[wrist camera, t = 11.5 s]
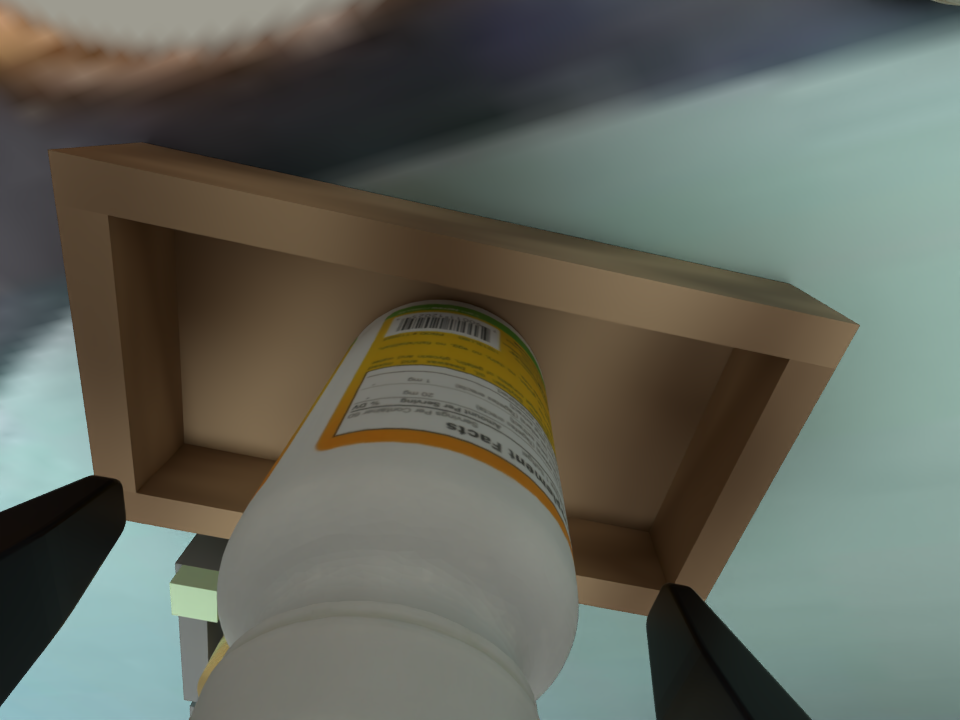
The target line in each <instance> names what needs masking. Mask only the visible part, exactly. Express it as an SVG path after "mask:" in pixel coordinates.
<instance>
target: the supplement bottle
mask: <svg viewBox="0 0 960 720" xmlns="http://www.w3.org/2000/svg"><path fill="white" fill-rule="evenodd" d="M217 604H218V615H219V620H220V624H221V628H222V631H223V634H224V636H225V639H226V641H227V644H228V646H229V649H228V650H227V652H226V653H225V655H224V657H223V658H222V660H221V661H220V662H219V663H218V664H217V666H216V667H215V668H214V670H213V671H212V672H211V674H210V675H209V677H208V679H207V681H206V683H205V685H204V686H203V688H202V691H201V693H200V696H199V698H198V700H197V703H196V705H195V707H194V710H193V712H192V714H191V716H190V718H189V720H540V719H539V716H538V713H537V705H536V700H537V699H538V698H539V697H540V696H541V695H542V694H543V693H544V692H545V691H546V690H547V689H548V688H549V687H550V685H551V684H552V683H553V682H554V680H555V679H556V677H557V676H558V674H559V673H560V671H561V669H562V668H563V666H564V664H565V661H566V659H567V657H568V655H569V652H570V650H571V648H572V645H573V641H574V638H575V634H576V630H577V623H578V607H579V602H578V590H577V581H576V573H575V566H574V559H573V552H572V545H571V540H570V535H569V529H568V522H567V516H566V511H565V505H564V499H563V493H562V487H561V482H560V476H559V470H558V464H557V458H556V452H555V445H554V439H553V433H552V426H551V420H550V414H549V408H548V402H547V395H546V389H545V385H544V381H543V376H542V373H541V370H540V367H539V364H538V362H537V360H536V358H535V356H534V354H533V352H532V350H531V348H530V347H529V345H528V344H527V343H526V341H525V340H524V339H523V337H522V336H521V335H520V334H519V333H518V332H517V331H516V330H515V329H514V328H513V327H512V326H510V325H509V324H508V323H506V322H505V321H504V320H502V319H501V318H499V317H498V316H496V315H494V314H492V313H490V312H488V311H486V310H484V309H482V308H479V307H476V306H474V305H471V304H467V303H463V302H458V301H452V300H423V301H418V302H413V303H409V304H406V305H403V306H400V307H397V308H395V309H393V310H391V311H389V312H387V313H385V314H383V315H382V316H380V317H378V318H377V319H376V320H374V321H373V322H372V323H371V324H369V325H368V326H367V327H366V328H365V329H364V330H363V331H362V332H361V334H360V335H359V336H358V337H357V339H356V340H355V341H354V342H353V344H352V345H351V346H350V348H349V349H348V351H347V352H346V354H345V355H344V357H343V359H342V360H341V362H340V363H339V365H338V366H337V368H336V370H335V371H334V373H333V374H332V376H331V377H330V379H329V380H328V382H327V384H326V385H325V387H324V388H323V390H322V392H321V393H320V395H319V396H318V398H317V399H316V401H315V402H314V404H313V405H312V407H311V408H310V410H309V412H308V413H307V415H306V416H305V418H304V419H303V421H302V422H301V424H300V425H299V427H298V429H297V430H296V432H295V433H294V435H293V436H292V438H291V439H290V441H289V442H288V444H287V445H286V447H285V448H284V450H283V451H282V453H281V455H280V456H279V458H278V459H277V461H276V462H275V464H274V465H273V467H272V468H271V470H270V471H269V473H268V474H267V476H266V477H265V479H264V480H263V482H262V483H261V485H260V487H259V488H258V490H257V491H256V493H255V494H254V496H253V498H252V499H251V501H250V503H249V504H248V506H247V508H246V509H245V511H244V513H243V515H242V516H241V518H240V520H239V522H238V523H237V525H236V527H235V529H234V531H233V533H232V535H231V537H230V539H229V541H228V543H227V546H226V548H225V551H224V554H223V557H222V561H221V565H220V570H219V575H218V583H217Z"/></svg>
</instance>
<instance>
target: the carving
mask: <svg viewBox="0 0 960 720" xmlns="http://www.w3.org/2000/svg"><path fill="white" fill-rule="evenodd" d="M932 1H935V2H938V3H942V4H949V5H959V6H960V0H932Z"/></svg>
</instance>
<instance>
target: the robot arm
mask: <svg viewBox="0 0 960 720" xmlns="http://www.w3.org/2000/svg"><path fill="white" fill-rule="evenodd" d="M125 524H126V510H125V501H124V493H123V486H122V483H121V482H120V481H119V480H117V479H114V478H109V477H104V476H98V475H91V476H88V477H85V478H82V479H80V480H77V481H75V482H73V483H70V484H68V485H65V486H63V487H60V488H58V489H55V490H53V491H51V492H48V493H46V494H43V495H41V496H38V497H36V498H33V499H31V500H28V501H26V502H24V503H21V504H19V505H16V506H14V507H11V508H9V509H6V510H4V511H2V512H0V706H1V705H2V704H3V703H4V701H5V700H6V699H7V697H8V696H9V695H10V693H11V692H12V691H13V690H14V688H15V687H16V686H17V684H18V683H19V682H20V681H21V679H22V678H23V677H24V675H25V674H26V673H27V671H28V670H29V669H30V668H31V666H32V665H33V664H34V662H35V661H36V660H37V659H38V657H39V656H40V655H41V653H42V652H43V651H44V650H45V648H46V647H47V646H48V644H49V643H50V642H51V640H52V639H53V638H54V636H55V635H56V634H57V632H58V631H59V630H60V628H61V627H62V626H63V624H64V623H65V621H66V620H67V618H68V617H69V615H70V614H71V612H72V611H73V609H74V608H75V606H76V605H77V603H78V602H79V600H80V598H81V597H82V595H83V594H84V592H85V591H86V589H87V587H88V586H89V584H90V583H91V581H92V579H93V578H94V576H95V575H96V573H97V572H98V570H99V568H100V567H101V565H102V564H103V562H104V561H105V559H106V557H107V556H108V554H109V553H110V551H111V549H112V548H113V546H114V545H115V543H116V542H117V540H118V538H119V537H120V535H121V533H122V532H123V529H124V527H125ZM646 630H647V640H648V649H649V658H650V667H651V676H652V685H653V695H654V704H655V712H656V720H812V719H811V718H810V717H809V716H808V715H807V714H806V713H805V712H804V710H803V709H802V708H801V707H800V706H799V705H798V704H797V703H796V702H795V701H794V699H793V698H792V697H791V696H790V695H789V694H788V693H787V692H786V691H785V690H784V689H783V687H782V686H781V685H780V684H779V683H778V682H777V681H776V680H775V679H774V678H773V676H772V675H771V674H770V673H769V672H768V671H767V670H766V669H765V668H764V667H763V665H762V664H761V663H760V662H759V661H758V660H757V659H756V658H755V657H754V656H753V654H752V653H751V652H750V651H749V650H748V649H747V648H746V647H745V646H744V645H743V643H742V642H741V641H740V640H739V639H738V638H737V637H736V636H735V635H734V634H733V632H732V631H731V630H730V629H729V628H728V627H727V626H726V625H725V624H724V623H723V621H722V620H721V619H720V618H719V617H718V616H717V615H716V614H715V613H714V612H713V610H712V609H711V608H710V607H709V606H708V605H707V604H706V603H705V602H704V601H703V600H702V598H701V597H700V596H699V595H698V594H697V593H696V592H695V591H694V590H693V589H692V588H691V587H689V586H685V585H680V584H675V583H666V584H664V585H663V586H662V588H661V590H660V592H659V593H658V595H657V597H656V599H655V601H654V603H653V605H652V607H651V609H650V611H649V614H648V617H647V622H646Z"/></svg>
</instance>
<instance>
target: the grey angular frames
mask: <svg viewBox="0 0 960 720" xmlns="http://www.w3.org/2000/svg"><path fill="white" fill-rule="evenodd" d="M228 541H229V539H225V538H219V537H214V536H208V535H203V534H196V536H195V537H194V538H193V540H192V541H191V542H190V544H189V545H188V546H187V548H186V549H185V551H184V552H183V553H182V555H181V556H180V557H179V559H178V560H177V561H176V563H175V569H176V575H175V576H174V578H173V579H172V580H171V582H170V596H171V609H172V615H176V616H179V631H180V646H181V662H182V677H183V692H184V700H187V701H192V703H191V705H190V716H191V714H192V712H193V710H194V707H195V705H196V703H197V700H198V698H199V697H198V692H197V685H198V681H199V679H200V677H201V675H202V673H203V671H204V669H205V668H206V666H207V664H208V662H209V660H210V658H211V656H212V655H213V653H214V651H215V649H216V647H217V645H218V643H219V642H220V640H221V638H222V636H223V631H222V628H221V624H220V620H219V615H218V604H217V583H218V575H219V570H220V565H221V561H222V557H223V554H224V551H225V548H226V546H227V543H228Z"/></svg>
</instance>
